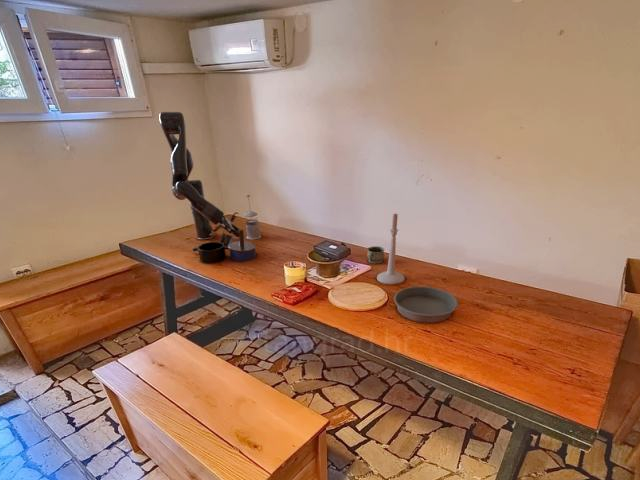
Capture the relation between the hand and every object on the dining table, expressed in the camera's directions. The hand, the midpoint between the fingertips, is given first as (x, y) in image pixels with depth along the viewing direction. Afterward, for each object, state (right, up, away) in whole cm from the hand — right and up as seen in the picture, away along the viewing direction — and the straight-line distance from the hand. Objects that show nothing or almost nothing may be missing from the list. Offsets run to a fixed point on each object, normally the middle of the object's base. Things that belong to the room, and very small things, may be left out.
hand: (238, 233), depth 193 cm
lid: (+1, -6, +4) cm, 7 cm away
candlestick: (+77, -28, -21) cm, 84 cm away
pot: (-15, -12, +6) cm, 20 cm away
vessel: (+72, -15, -2) cm, 73 cm away
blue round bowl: (+1, -11, +7) cm, 13 cm away
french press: (+1, +8, +35) cm, 36 cm away
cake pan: (+86, -45, -46) cm, 107 cm away
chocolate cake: (-13, 0, +23) cm, 27 cm away
